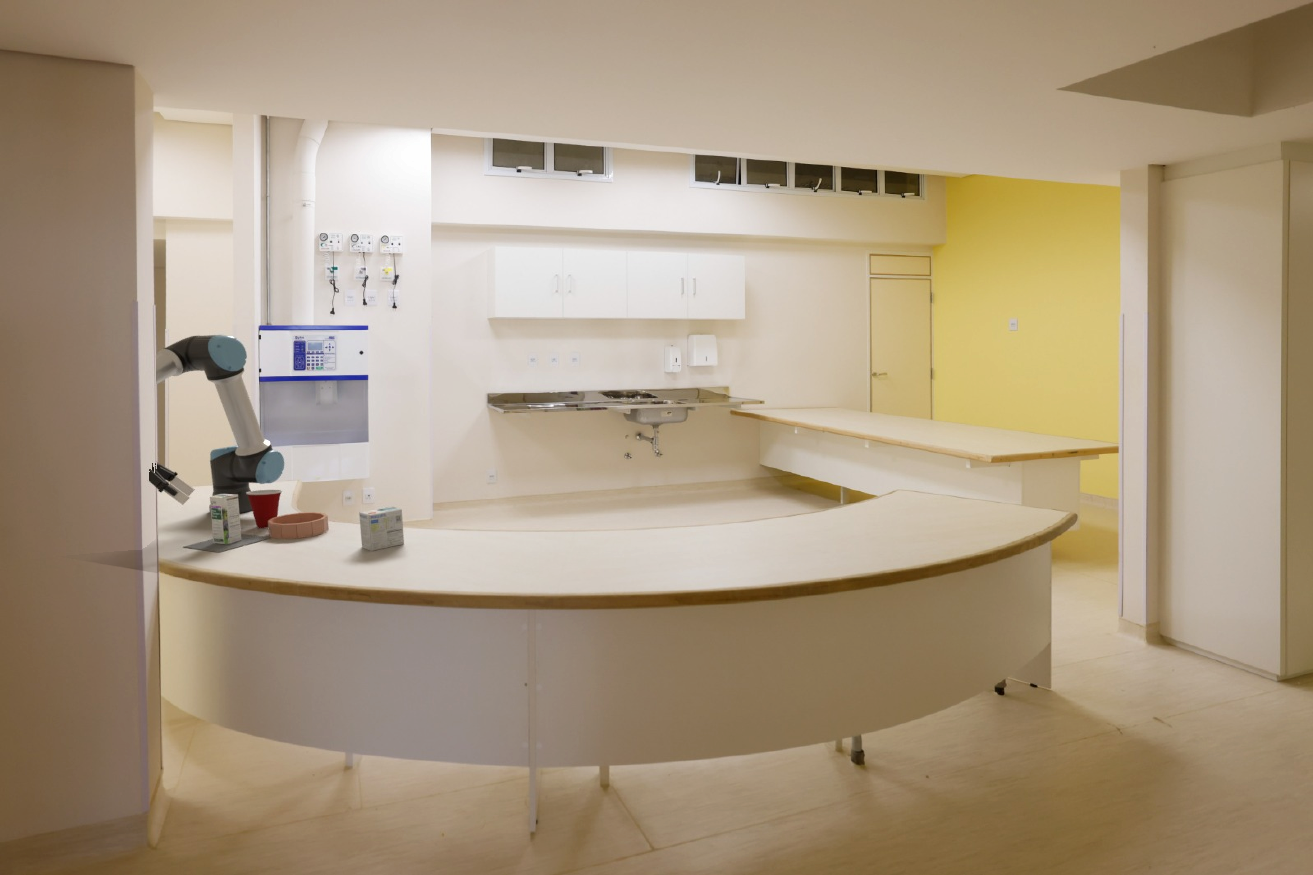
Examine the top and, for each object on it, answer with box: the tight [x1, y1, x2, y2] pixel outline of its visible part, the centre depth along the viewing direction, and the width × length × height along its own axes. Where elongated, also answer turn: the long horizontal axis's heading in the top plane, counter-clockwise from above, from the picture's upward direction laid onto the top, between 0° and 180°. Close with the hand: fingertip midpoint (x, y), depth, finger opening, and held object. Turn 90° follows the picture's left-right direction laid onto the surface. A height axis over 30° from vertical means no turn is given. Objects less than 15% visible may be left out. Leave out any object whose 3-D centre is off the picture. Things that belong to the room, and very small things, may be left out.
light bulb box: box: [358, 506, 405, 552], centre depth 254 cm, size 11×7×11 cm, turn 134°
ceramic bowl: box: [267, 511, 330, 540], centre depth 273 cm, size 17×17×4 cm
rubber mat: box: [183, 533, 272, 553], centre depth 262 cm, size 18×16×1 cm
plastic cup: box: [246, 489, 283, 529], centre depth 282 cm, size 11×11×12 cm
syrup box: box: [209, 494, 242, 545], centre depth 261 cm, size 6×6×14 cm
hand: (189, 497), depth 256 cm, fingers open, 13 cm apart
